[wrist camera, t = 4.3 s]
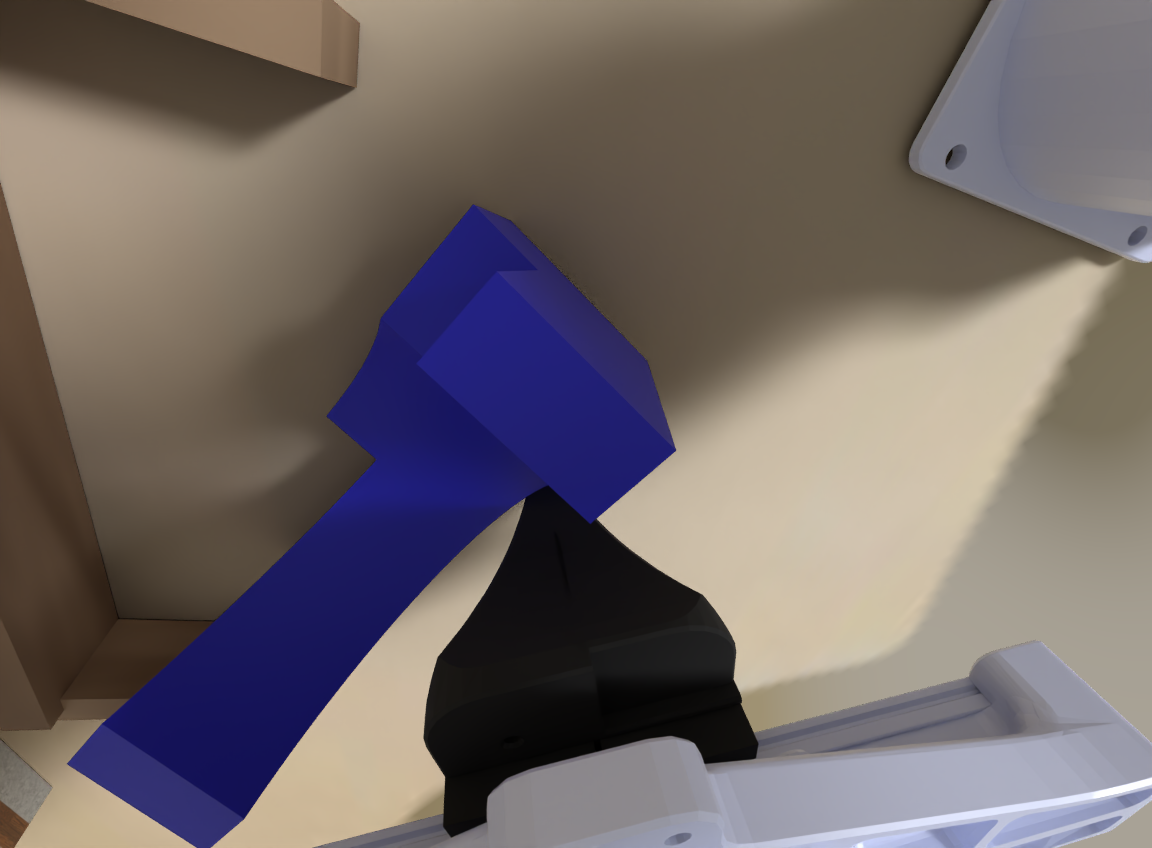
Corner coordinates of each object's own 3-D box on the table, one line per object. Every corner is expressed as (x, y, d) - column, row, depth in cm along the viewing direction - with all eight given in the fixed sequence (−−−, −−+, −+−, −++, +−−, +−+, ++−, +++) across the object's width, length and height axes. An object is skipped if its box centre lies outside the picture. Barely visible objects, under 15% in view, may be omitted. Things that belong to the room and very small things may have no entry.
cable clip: (510, 221, 11) (394, 169, 5) (647, 360, 12) (675, 449, 6) (243, 536, 14) (-8, 715, 8) (362, 629, 15) (204, 852, 9)
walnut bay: (359, 23, 9) (311, -18, 6) (327, 642, 17) (302, 731, 15) (-184, -175, 7) (-586, -358, 4) (85, 638, 15) (7, 741, 13)
